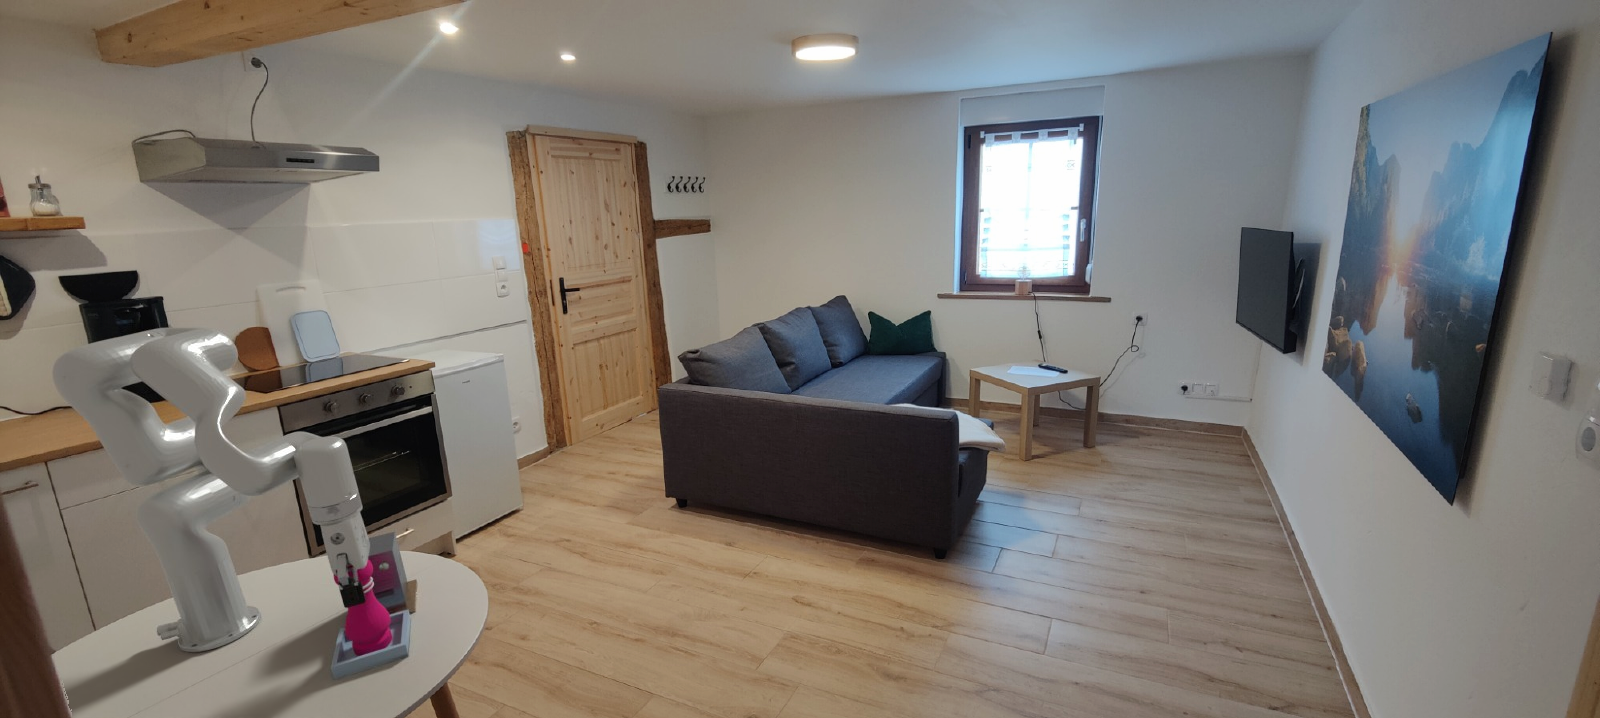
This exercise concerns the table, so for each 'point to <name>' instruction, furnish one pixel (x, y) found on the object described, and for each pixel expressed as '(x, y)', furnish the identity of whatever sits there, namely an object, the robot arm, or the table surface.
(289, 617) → the table surface
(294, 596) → the table surface
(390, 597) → the control unit
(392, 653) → the parts tray
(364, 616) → the pepper mill
